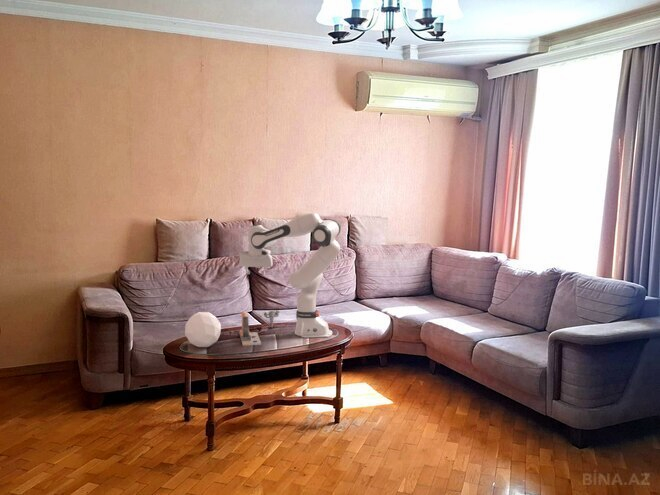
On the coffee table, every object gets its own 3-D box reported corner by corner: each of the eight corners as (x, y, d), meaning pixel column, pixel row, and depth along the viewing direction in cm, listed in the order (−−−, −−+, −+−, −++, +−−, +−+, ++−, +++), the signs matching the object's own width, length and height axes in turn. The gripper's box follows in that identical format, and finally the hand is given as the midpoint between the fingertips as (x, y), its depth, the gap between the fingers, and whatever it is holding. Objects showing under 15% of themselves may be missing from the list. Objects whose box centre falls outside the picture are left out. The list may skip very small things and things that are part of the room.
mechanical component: (263, 327, 362) (263, 312, 361) (277, 325, 368) (277, 309, 367) (265, 328, 359) (265, 312, 358) (279, 326, 365) (279, 310, 364)
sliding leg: (239, 333, 337) (239, 311, 336) (248, 333, 338) (248, 311, 337) (240, 335, 332) (240, 313, 331) (249, 335, 333) (248, 313, 332)
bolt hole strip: (246, 334, 346) (246, 332, 346) (257, 334, 347) (256, 331, 347) (250, 345, 323) (250, 343, 323) (260, 344, 325) (260, 342, 325)
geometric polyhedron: (195, 360, 319) (172, 334, 312) (207, 338, 336) (185, 313, 330) (222, 346, 312) (198, 319, 305) (232, 325, 329) (210, 299, 323)
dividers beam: (239, 335, 345) (238, 309, 343) (247, 334, 346) (247, 308, 344) (241, 345, 322) (241, 318, 321) (251, 345, 324) (250, 317, 322)
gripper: (237, 251, 351) (237, 274, 353) (270, 252, 349) (271, 275, 350) (240, 250, 358) (240, 272, 359) (273, 251, 355) (273, 273, 357)
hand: (256, 274), depth 355 cm, fingers open, 8 cm apart
